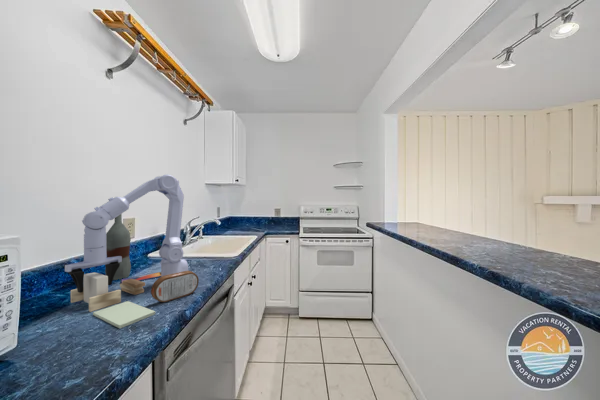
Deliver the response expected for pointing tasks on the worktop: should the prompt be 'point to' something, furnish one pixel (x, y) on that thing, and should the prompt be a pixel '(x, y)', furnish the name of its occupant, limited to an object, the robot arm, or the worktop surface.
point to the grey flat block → (94, 285)
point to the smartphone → (145, 277)
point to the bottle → (119, 247)
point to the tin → (174, 286)
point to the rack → (98, 299)
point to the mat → (124, 314)
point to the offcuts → (132, 286)
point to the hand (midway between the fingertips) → (95, 288)
